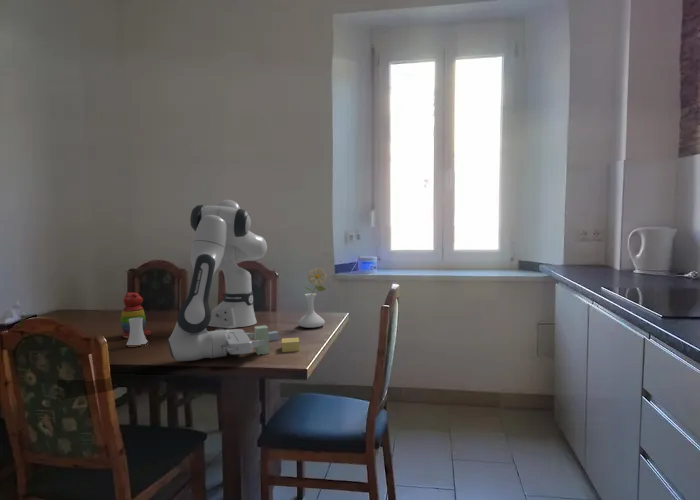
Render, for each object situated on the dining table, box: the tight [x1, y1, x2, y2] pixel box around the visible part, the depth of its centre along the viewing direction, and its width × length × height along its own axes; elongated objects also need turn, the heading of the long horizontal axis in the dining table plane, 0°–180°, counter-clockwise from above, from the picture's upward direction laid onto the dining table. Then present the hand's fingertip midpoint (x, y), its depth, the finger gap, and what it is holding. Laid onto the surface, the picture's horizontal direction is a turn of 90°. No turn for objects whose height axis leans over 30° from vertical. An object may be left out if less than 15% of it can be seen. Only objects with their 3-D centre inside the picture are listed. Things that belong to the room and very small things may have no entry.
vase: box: [125, 318, 149, 346], centre depth 184 cm, size 8×8×10 cm
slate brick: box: [268, 330, 280, 342], centre depth 186 cm, size 6×3×3 cm, turn 118°
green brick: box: [254, 325, 270, 356], centre depth 169 cm, size 4×4×9 cm
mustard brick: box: [281, 337, 301, 353], centre depth 173 cm, size 6×6×4 cm
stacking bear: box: [120, 291, 152, 336], centre depth 199 cm, size 11×10×18 cm
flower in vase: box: [297, 267, 328, 329], centre depth 206 cm, size 13×11×25 cm
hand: (261, 338), depth 169 cm, fingers open, 8 cm apart
